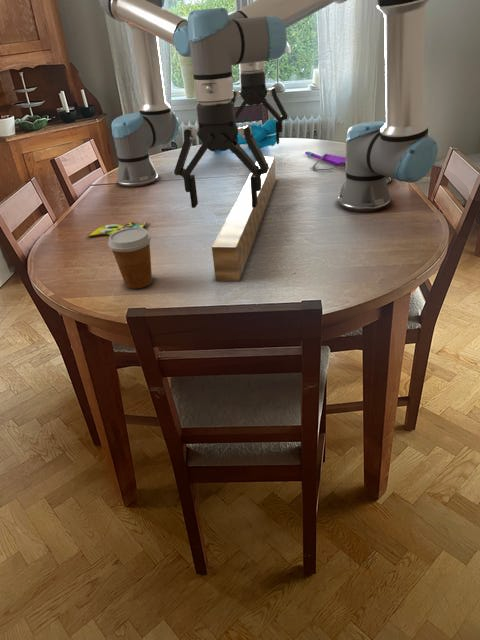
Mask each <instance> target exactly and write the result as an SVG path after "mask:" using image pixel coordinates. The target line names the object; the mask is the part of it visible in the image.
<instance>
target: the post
mask: <svg viewBox="0 0 480 640" xmlns="http://www.w3.org/2000/svg"><path fill="white" fill-rule="evenodd" d="M264 158H265V160H266V161H267V163H268V165H269V170H268V172H267V173H264V174H262V175H261V189H260V191H257V205H256V207H252V196H251V179H250V177H251V175H252V173H251V172H250V174H249V175H248V177H247V180H246V181H245V183H244V185H243V187H242V189H241V191H240V193H239V194H238V196H237V198H236V200H235V202H234V204H233V206H232V208H231V210H230V212H229V213H228V216H227V217H226V220H225V221H224V223H223V225H222V227H221V229H220V230H219V232H218V235H217V236H216V238H215V240H214V242H213V244H212V246H211V252H212V253H211V254H212V262H213V269H214V276H215V281H217V282H219V281H223V282H225V281H226V282H240V280H241V277H242V276H243V275H242V274H243V272H244V269H245V267H246V265H247V264H246V263H247V260H248V258H249V255H250V252H251V250H252V247H253V244H254V242H255V239H256V237H257V233H258V231H259V228H260V225H261V223H262V219H263V217H264V214H265V211H266V209H267V206H268V203H269V200H270V199H271V198H270V197H271V195H272V193H273V189H274V186H275V185H276V182H277V176H276V174H277V173H276V155H275V156H264ZM255 163H256V165H257V166H258V167H260V166H259V165H258V163H257V161H255Z"/></svg>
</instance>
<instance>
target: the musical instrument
mask: <svg viewBox="0 0 480 640" xmlns="http://www.w3.org/2000/svg"><path fill="white" fill-rule="evenodd" d="M304 154H305V155H307V156H309V157H312V158H315V159H318V160H317V161H316V162H315V163H314V164H313V165H312V170H314V171H329V170H333V169H336V168H338V167H341V166H346V156H340V155H336V154H329V153H325V154H323V155H319V154H315V153H314V152H311V151H304ZM321 161H324V162H326V163H329V164H332V165H335V166H334V167H330V168H316V165H318V163H320V162H321Z"/></svg>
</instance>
